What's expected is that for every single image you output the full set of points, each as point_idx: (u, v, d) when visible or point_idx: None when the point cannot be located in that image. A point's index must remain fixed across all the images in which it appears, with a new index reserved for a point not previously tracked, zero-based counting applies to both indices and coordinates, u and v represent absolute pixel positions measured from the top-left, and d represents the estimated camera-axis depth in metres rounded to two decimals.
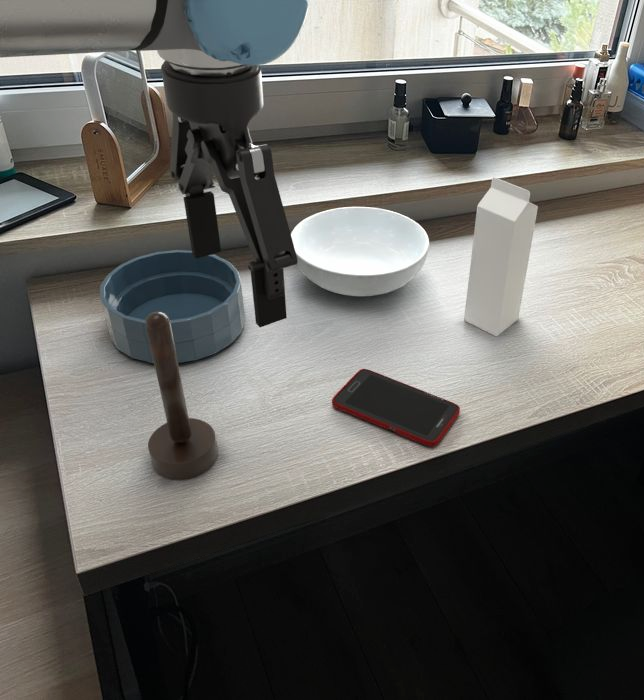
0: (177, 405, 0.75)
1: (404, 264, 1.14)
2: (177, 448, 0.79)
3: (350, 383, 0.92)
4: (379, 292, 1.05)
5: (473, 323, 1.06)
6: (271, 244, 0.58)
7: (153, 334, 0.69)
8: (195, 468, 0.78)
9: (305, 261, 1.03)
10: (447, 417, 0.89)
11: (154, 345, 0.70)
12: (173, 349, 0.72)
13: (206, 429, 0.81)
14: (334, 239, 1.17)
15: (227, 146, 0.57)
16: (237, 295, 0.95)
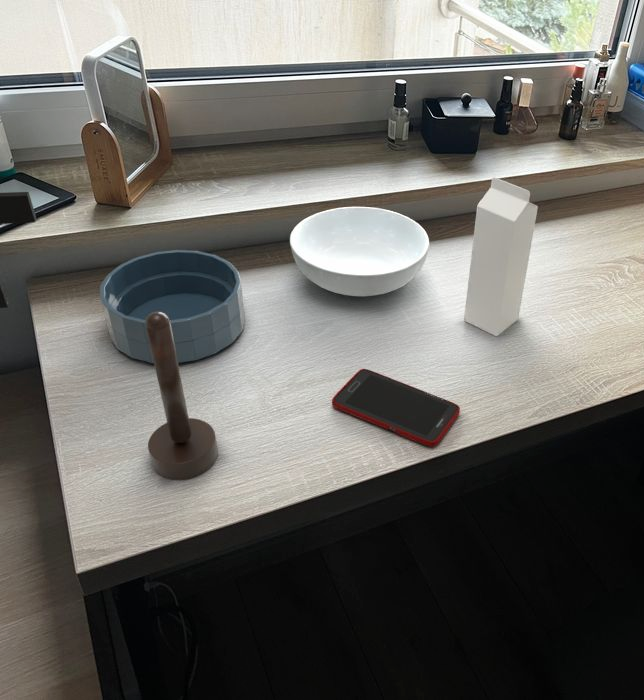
0: (177, 405, 0.75)
1: (404, 264, 1.14)
2: (177, 448, 0.79)
3: (350, 383, 0.92)
4: (379, 292, 1.05)
5: (473, 323, 1.06)
6: None
7: (153, 334, 0.69)
8: (195, 468, 0.78)
9: (305, 261, 1.03)
10: (447, 417, 0.89)
11: (154, 345, 0.70)
12: (173, 349, 0.72)
13: (206, 429, 0.81)
14: (334, 239, 1.17)
15: None
16: (237, 295, 0.95)
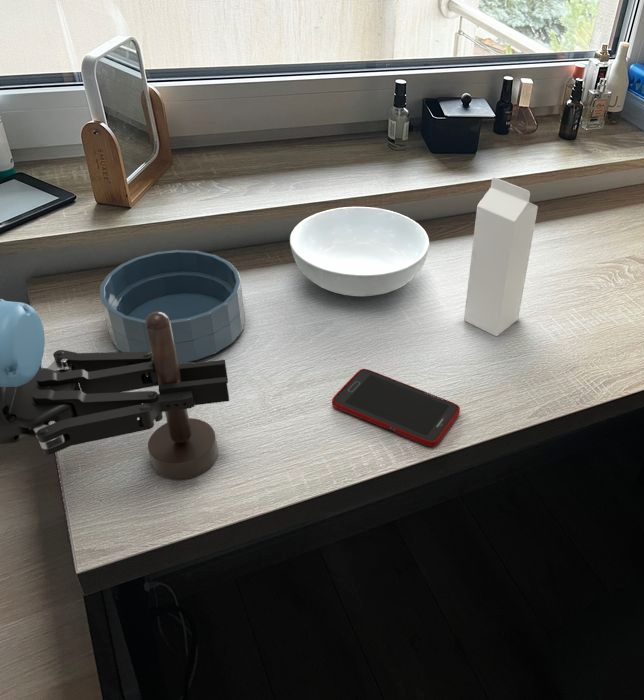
0: None
1: (404, 264, 1.14)
2: (177, 448, 0.79)
3: (350, 383, 0.92)
4: (379, 292, 1.05)
5: (473, 323, 1.06)
6: None
7: (153, 334, 0.69)
8: (195, 468, 0.78)
9: (305, 261, 1.03)
10: (447, 417, 0.89)
11: (154, 345, 0.70)
12: (173, 349, 0.72)
13: (206, 429, 0.81)
14: (334, 239, 1.17)
15: None
16: (237, 295, 0.95)
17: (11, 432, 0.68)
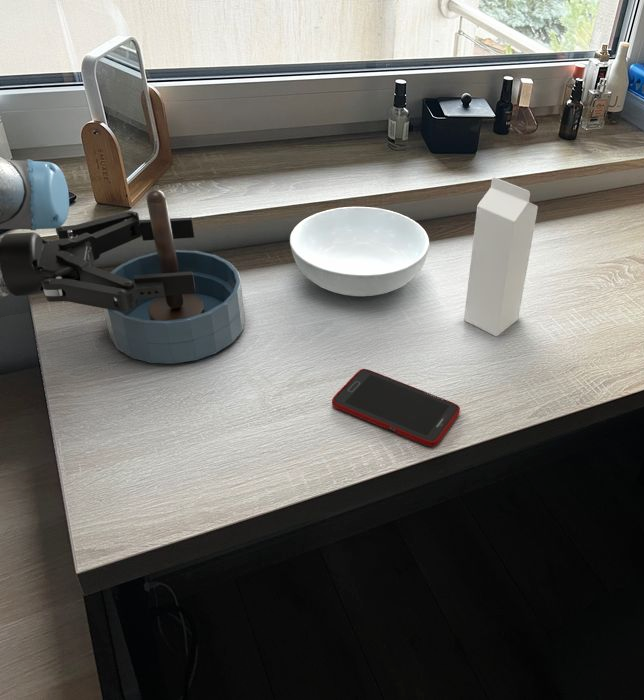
0: None
1: (404, 264, 1.14)
2: (172, 313, 0.96)
3: (350, 383, 0.92)
4: (379, 292, 1.05)
5: (473, 323, 1.06)
6: None
7: (152, 207, 0.87)
8: None
9: (305, 261, 1.03)
10: (447, 417, 0.89)
11: (153, 217, 0.88)
12: (169, 222, 0.89)
13: (196, 301, 0.99)
14: (334, 239, 1.17)
15: (59, 239, 0.91)
16: (237, 295, 0.95)
17: (38, 282, 0.86)
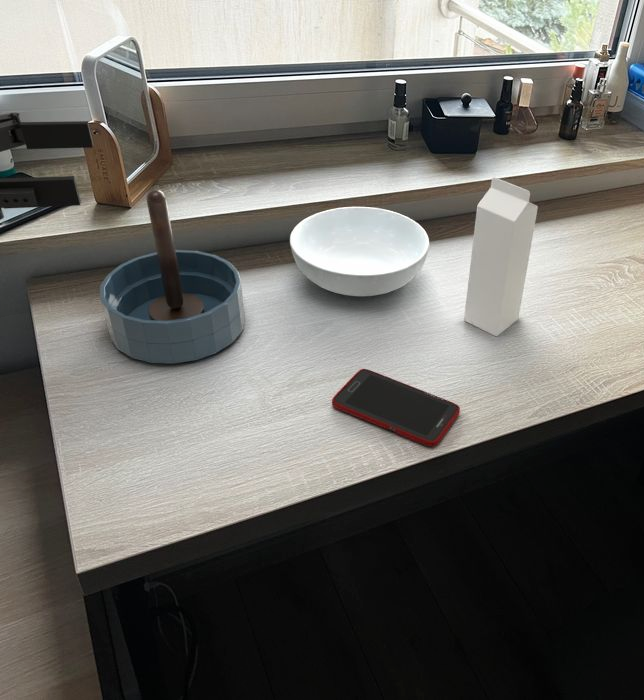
0: (172, 273, 0.93)
1: (404, 264, 1.14)
2: (172, 313, 0.96)
3: (350, 383, 0.92)
4: (379, 292, 1.05)
5: (473, 323, 1.06)
6: None
7: (152, 207, 0.87)
8: None
9: (305, 261, 1.03)
10: (447, 417, 0.89)
11: (153, 217, 0.88)
12: (169, 222, 0.89)
13: (196, 301, 0.99)
14: (334, 239, 1.17)
15: None
16: (237, 295, 0.95)
17: None
